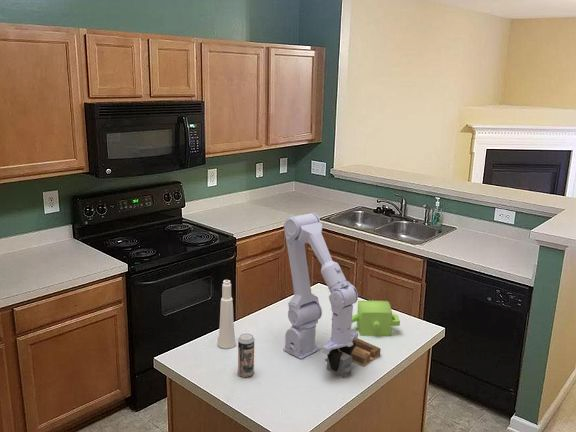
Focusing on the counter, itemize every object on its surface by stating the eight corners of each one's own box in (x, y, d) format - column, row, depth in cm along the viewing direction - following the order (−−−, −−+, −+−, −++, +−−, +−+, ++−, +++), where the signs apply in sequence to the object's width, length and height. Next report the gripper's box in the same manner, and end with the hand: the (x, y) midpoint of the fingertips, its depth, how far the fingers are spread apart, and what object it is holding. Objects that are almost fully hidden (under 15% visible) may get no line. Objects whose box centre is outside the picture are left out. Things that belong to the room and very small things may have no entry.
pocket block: (363, 366, 164) (363, 358, 163) (334, 352, 171) (335, 345, 171) (380, 355, 170) (380, 348, 170) (352, 343, 178) (352, 336, 177)
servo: (345, 379, 157) (346, 362, 155) (323, 368, 163) (324, 351, 161) (354, 374, 160) (355, 357, 158) (332, 363, 165) (333, 346, 164)
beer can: (240, 379, 155) (241, 341, 152) (235, 371, 159) (235, 334, 156) (256, 376, 157) (257, 339, 154) (250, 367, 161) (251, 331, 158)
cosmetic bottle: (237, 340, 177) (237, 277, 171) (234, 349, 171) (234, 285, 165) (219, 339, 177) (219, 276, 172) (215, 348, 172) (215, 284, 166)
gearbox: (346, 338, 182) (348, 313, 179) (343, 324, 191) (345, 299, 188) (400, 339, 182) (402, 314, 179) (394, 324, 191) (396, 300, 188)
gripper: (336, 338, 149) (334, 381, 153) (367, 322, 160) (364, 363, 163) (317, 329, 154) (315, 371, 158) (348, 314, 164) (345, 354, 168)
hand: (338, 366), depth 161 cm, fingers closed on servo, 4 cm apart
